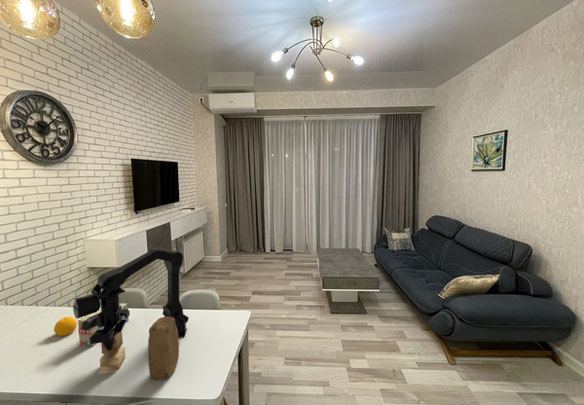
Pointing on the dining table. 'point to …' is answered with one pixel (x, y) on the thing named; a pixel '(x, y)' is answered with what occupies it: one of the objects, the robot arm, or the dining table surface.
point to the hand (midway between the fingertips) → (112, 346)
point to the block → (163, 348)
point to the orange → (65, 326)
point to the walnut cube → (116, 345)
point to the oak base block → (112, 360)
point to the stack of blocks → (86, 335)
